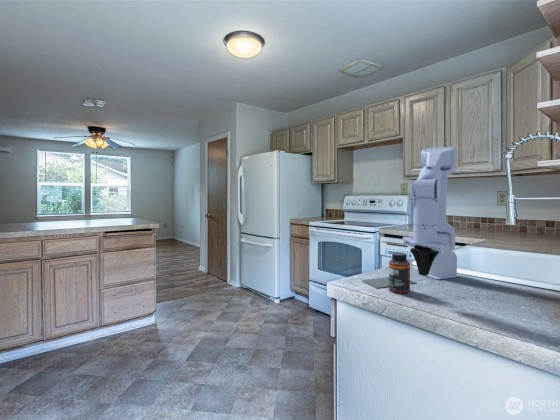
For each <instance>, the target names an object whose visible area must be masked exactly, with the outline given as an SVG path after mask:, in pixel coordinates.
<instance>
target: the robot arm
mask: <svg viewBox="0 0 560 420" xmlns="http://www.w3.org/2000/svg"><path fill="white" fill-rule="evenodd" d="M420 164H421V167H422V168H421V169H420V172H419V175H418V177H417V179H416V180H415V181H412V184H411V189H410V190H411V191H410V192H411V200H412V201H411V202H412V203H411V204H412V208H413V221H412V223H413V224H412V225H413V227H412V228H413V231H412V236H402V244H403V245H409V246H410V245H411V246H414V247H411V248H410V252H411V254H412V256H413V258H414V261H415V263H416V267H417V270H418V274H419V275H420V276H426V277H429V278H431V279H435V280H444V279H452V278H459V276H460V275H459V274H458V256H457V254H456V252H455V251H454V250H455V247H456V246H455V245H456V230H455V227H454V226H453V225H451V224H450V223H448V222H447V200H448V199H447V195H448V194H447V193H448V191H447V190H448V178H449V175H450V174H452V173H454V172H456V168H457V148H456V147H455V146H453V145H451V146H447V147H445V146H444V147H433V148H432V147H431V148H425V147H424V148H423V149H422V150H421V153H420Z"/></svg>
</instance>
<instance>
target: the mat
mask: <svg viewBox="0 0 560 420" xmlns="http://www.w3.org/2000/svg"><path fill="white" fill-rule="evenodd" d="M361 282H362V283H364V284H367V285H369V286H370V287H373V289H374V288H375V289H384V288H389V276H385V277H378V278H371V279H362V280H361ZM412 284H417V282H416V281H415V280H414V281H413V280H411V279H410V285H412Z"/></svg>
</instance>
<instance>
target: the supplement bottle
mask: <svg viewBox="0 0 560 420" xmlns="http://www.w3.org/2000/svg"><path fill="white" fill-rule="evenodd" d="M407 258H408V257H407V253H405V252H401V251H400V252H398V251H396V252H392V253H391V259H390V260H388V277H389V287H388V289H389V291H391V292H392V293H396V294H408V293H409V292H410V290H411V284H410V280H411V264H410V261H409V260H407Z"/></svg>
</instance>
